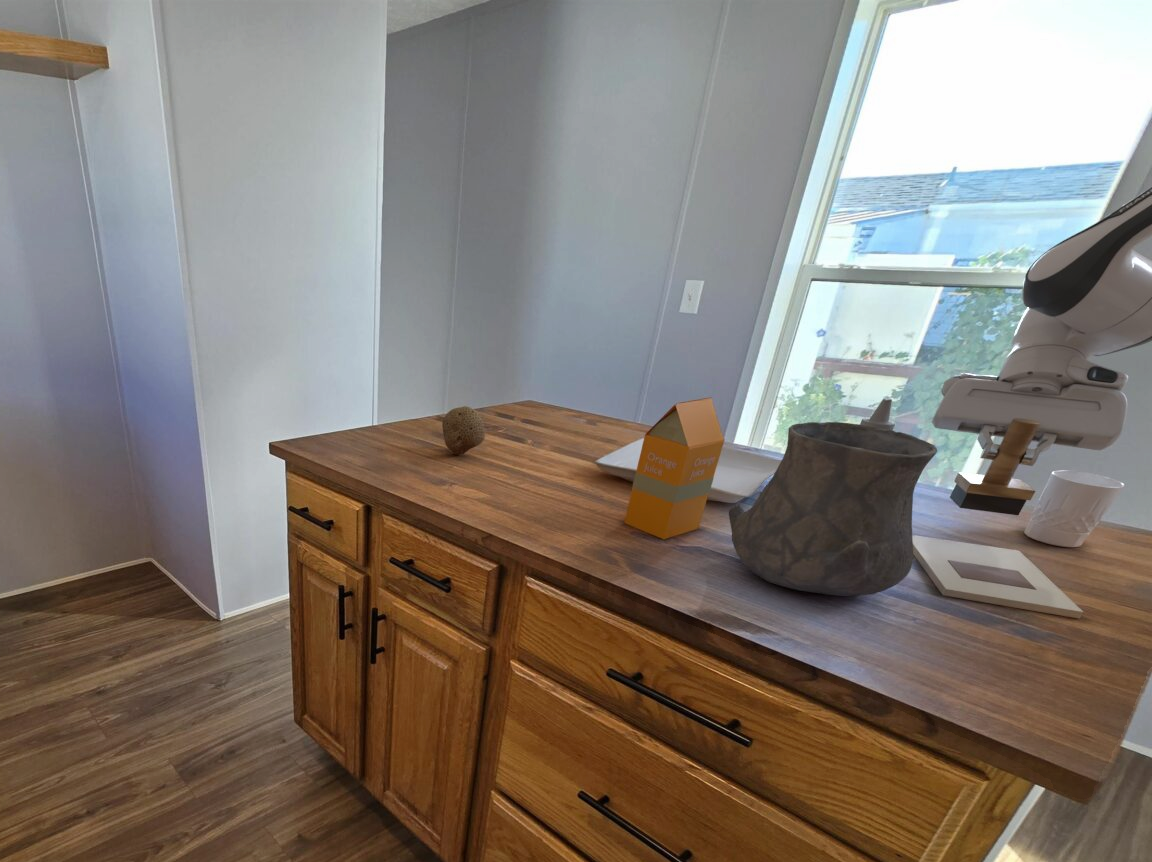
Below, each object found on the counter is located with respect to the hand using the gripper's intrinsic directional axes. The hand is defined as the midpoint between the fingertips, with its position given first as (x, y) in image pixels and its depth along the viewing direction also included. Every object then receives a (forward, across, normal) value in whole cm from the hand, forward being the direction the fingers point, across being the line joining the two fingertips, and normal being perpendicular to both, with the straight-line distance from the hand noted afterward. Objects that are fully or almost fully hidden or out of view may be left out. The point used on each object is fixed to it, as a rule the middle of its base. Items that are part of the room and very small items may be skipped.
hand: (1007, 460), depth 96 cm
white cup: (+2, +11, +17) cm, 20 cm away
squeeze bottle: (+3, -17, +16) cm, 23 cm away
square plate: (+7, -42, +12) cm, 44 cm away
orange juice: (+27, -39, -8) cm, 48 cm away
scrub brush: (+5, 0, +6) cm, 7 cm away
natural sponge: (+18, -83, 0) cm, 85 cm away
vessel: (+31, -19, -13) cm, 39 cm away
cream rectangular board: (+19, +2, 0) cm, 19 cm away
